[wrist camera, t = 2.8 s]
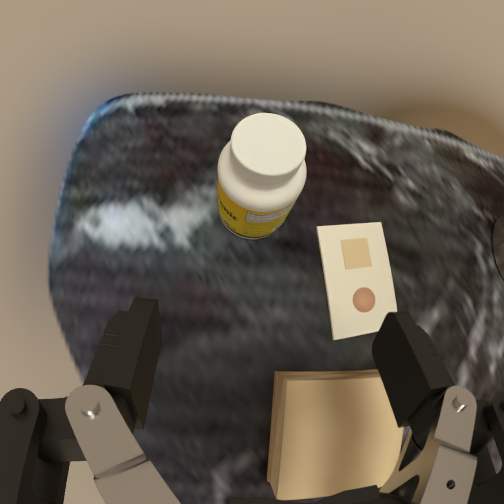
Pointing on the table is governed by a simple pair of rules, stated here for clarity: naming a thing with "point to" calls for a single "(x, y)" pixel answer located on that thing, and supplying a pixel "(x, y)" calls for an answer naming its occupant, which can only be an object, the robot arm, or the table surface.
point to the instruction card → (356, 277)
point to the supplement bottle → (260, 175)
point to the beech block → (330, 433)
